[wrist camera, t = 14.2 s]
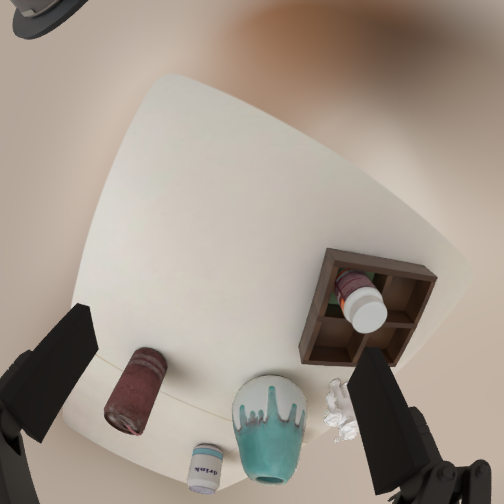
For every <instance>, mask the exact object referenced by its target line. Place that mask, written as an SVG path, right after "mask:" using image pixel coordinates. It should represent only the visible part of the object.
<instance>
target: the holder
mask: <svg viewBox="0 0 504 504" xmlns="http://www.w3.org/2000/svg"><path fill="white" fill-rule="evenodd" d="M344 268H347V269H353V270H360V271H363V272H364V273H365V274H366V275H367V277H368V278H369V279H370V281H371V282H372V283H373V285H374V286H375V287H376V288H377V290H378V291H379V292H380V294H381V296H382V299H383V303H384V305H385V306H386V309H387V317H386V320H385V322H384V323H383V325H382V326H381V327H380V328H378V329H377V330H375V331H373V332H370V333H360V332H358V331H356V330H355V329H354V327H353V325H352V323H351V322H349V321H348V320H347V319H346V318H345V316H344V314H343V311H342V309H341V307H340V305H339V303H338V301H337V299H336V297H335V294H334V292H333V287H334V283H335V280H336V277H337V273H338V272H339V271H341V270H342V269H344ZM437 278H438V277H437V276H436V275H435V274H433V273H432V272H431V271H430V270H429V269H427V268H426V267H425V266H424V265H419V264H413V263H408V262H403V261H397V260H392V259H386V258H381V257H376V256H370V255H364V254H359V253H353V252H348V251H342V250H336V249H330V248H327V250H326V253H325V257H324V261H323V265H322V269H321V272H320V276H319V280H318V283H317V287H316V290H315V294H314V297H313V301H312V304H311V308H310V311H309V314H308V317H307V321H306V324H305V327H304V330H303V333H302V337H301V340H300V343H299V352H300V358H301V364H309V365H324V366H345V367H356V366H357V364H358V362H359V360H360V358H361V356H362V354H363V351H364V349H365V347H380V349H381V351H382V353H383V355H384V357H385V359H386V361H387V363H388V365H389V367H395V366H396V365H397V363H398V361H399V359H400V357H401V356H402V354H403V352H404V350H405V348H406V346H407V344H408V343H409V341H410V339H411V337H412V335H413V333H414V331H415V328H416V327H417V324H418V322H419V320H420V318H421V316H422V314H423V311H424V309H425V307H426V305H427V302H428V300H429V297H430V295H431V293H432V290H433V288H434V285H435V282H436V280H437Z"/></svg>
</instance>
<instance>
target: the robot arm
mask: <svg viewBox="0 0 504 504" xmlns="http://www.w3.org/2000/svg"><path fill="white" fill-rule="evenodd" d="M62 1H63V0H11V2H12V3H13V4H14V5H15V6H16V7H17V8H18V9H19V10H20V12H21V14H22V15H23V16H24V17H29V18H37V17H40V16H42V15H44V14H46V13H48V12H49V11H51V10H52V9H53V8H55V7H56V6H57V5H59V4H60V3H61V2H62ZM98 350H99V348H98V344H97V340H96V336H95V331H94V327H93V322H92V317H91V312H90V307H89V306H86V305H82V304H79V303H77V304H76V305H75V306H74V307H73V308H72V309H71V310H70V311H69V312H68V313H67V314H66V315H65V316H64V317H63V318H62V320H60V321H59V323H58V324H57V325H56V326H55V327H54V328H53V329H52V330H51V331H50V332H49V333H48V334H47V336H46V337H45V338H44V339H43V340H42V341H41V342H40V343H39V345H38V346H37V347H36V348H35V349H34V350H33V351H31V350H27V351H26V352H24V353H22V354H21V355H19V357H18V358H17V359H16V360H15V361H14V364H12V365H11V366H10V367H9V370H7V371H6V372H5V373H4V374H3V376H2V377H1V378H0V504H40V503H39V500H38V497H37V494H36V491H35V488H34V485H33V482H32V478H31V474H30V471H29V467H28V463H27V458H26V454H25V449H24V444H23V439H22V435H21V433H20V431H21V429H23V430H24V431H25V432H26V434H27V435H28V436H30V437H31V438H33V439H34V440H36V441H37V442H39V443H42V441H43V439H44V437H45V435H46V433H47V432H48V430H49V428H50V426H51V425H52V423H53V421H54V419H55V418H56V416H57V414H58V412H59V411H60V409H61V407H62V406H63V404H64V402H65V401H66V399H67V397H68V396H69V394H70V393H71V391H72V389H73V388H74V386H75V385H76V383H77V381H78V380H79V378H80V377H81V375H82V374H83V372H84V371H85V369H86V367H87V366H88V364H89V363H90V361H91V360H92V358H93V357H94V355H95V354H96V352H97V351H98ZM346 386H347V389H348V392H349V396H350V399H351V403H352V406H353V409H354V413H355V416H356V420H357V424H358V427H359V431H360V434H361V438H362V442H363V446H364V450H365V453H366V457H367V461H368V465H369V469H370V473H371V477H372V482H373V486H374V490H375V495H380V494H384V493H388V492H391V491H393V490H394V489H396V488H397V487H399V486H400V490H401V491H399V492H398V493H397V494H395V495H393V496H392V497H390V499H389V500H388V501H389V502H390V501H392V500H393V499H395V500H394V502H393V503H392V504H459V500H461V499H462V501H461V504H491V468H490V465H489V464H488V462H486V461H485V460H477V461H475V462H474V463H473V464H471V465H470V466H465V467H455V466H454V465H453V464H452V463H451V462H449V461H443V459H442V458H441V455H440V453H439V451H438V448H437V446H436V444H435V441H434V439H433V437H432V434H431V433H430V430H429V427H428V425H426V424H427V423H426V421H425V419H424V416H423V414H422V413H421V412H420V411H419V410H418V409H417V408H416V407H415V406H414V407H408V405H407V403H406V401H405V399H404V397H403V394H402V392H401V390H400V388H399V386H398V384H397V382H396V380H395V377H394V375H393V373H392V371H391V369H390V367H389V365H388V363H387V361H386V359H385V357H384V355H383V353H382V351H381V349H380V347H365V349H364V351H363V354H362V356H361V358H360V360H359V362H358V364H357V366H356V368H355V370H354V372H353V374H352V376H351V378H350V380H349V381H348V383H347V385H346Z"/></svg>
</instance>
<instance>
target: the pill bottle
mask: <svg viewBox="0 0 504 504" xmlns="http://www.w3.org/2000/svg"><path fill="white" fill-rule="evenodd" d="M333 292H334V294H335V297H336V299H337V301H338V303H339V305H340V307H341V309H342V311H343V314H344V316H345V318H346V319H347V320H348V321H349V322H351V323H352V325H353V327H354V329H355V330H356V331H358V332H360V333H370V332H373V331H375V330H377V329H378V328H380V327H381V326H382V325H383V323H384V322H385V320H386V317H387V309H386V306H385V305H384V303H383V299H382V296H381V294H380V292H379V291H378V290H377V288H376V287H375V286H374V285H373V283H372V282H371V281H370V279H369V278H368V277H367V275H366V274H365V273H364V272H363V271H360V270H353V269H347V268H344V269H342V270H341V271H339V272H338V273H337V277H336V280H335V283H334V287H333Z"/></svg>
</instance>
